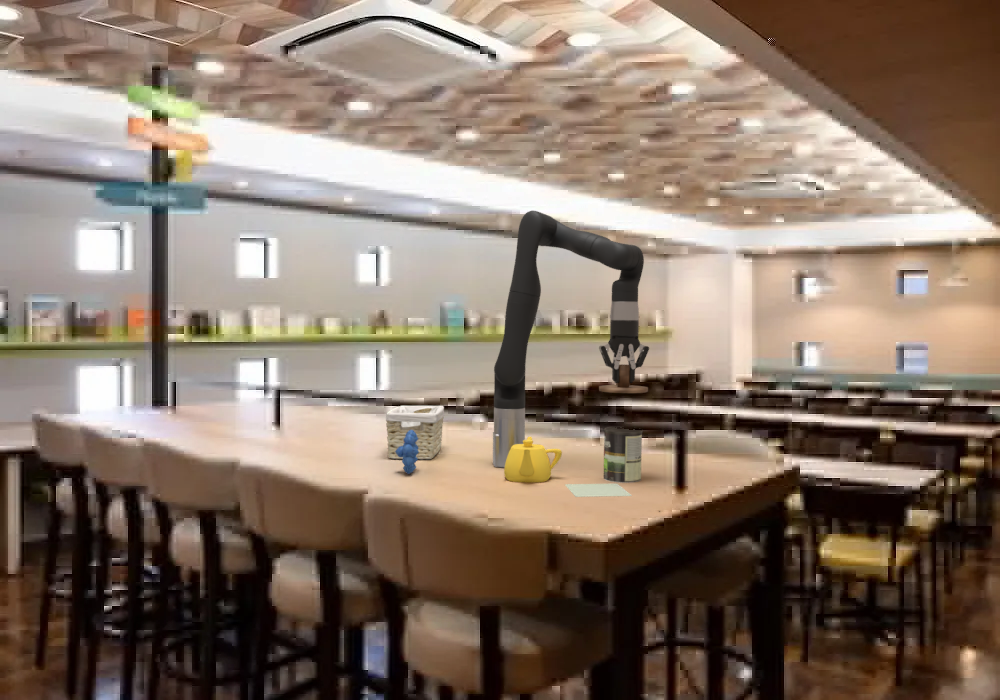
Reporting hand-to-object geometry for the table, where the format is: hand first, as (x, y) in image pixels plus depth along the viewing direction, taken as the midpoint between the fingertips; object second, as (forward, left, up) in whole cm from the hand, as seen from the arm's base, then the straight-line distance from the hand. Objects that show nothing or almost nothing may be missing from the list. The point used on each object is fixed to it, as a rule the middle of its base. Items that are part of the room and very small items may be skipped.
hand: (623, 382), depth 205 cm
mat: (-10, -13, -27) cm, 31 cm away
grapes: (-58, +15, -27) cm, 66 cm away
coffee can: (0, 0, -27) cm, 27 cm away
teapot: (-24, +3, -27) cm, 36 cm away
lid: (0, 0, -2) cm, 2 cm away
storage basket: (-55, +45, -27) cm, 77 cm away
